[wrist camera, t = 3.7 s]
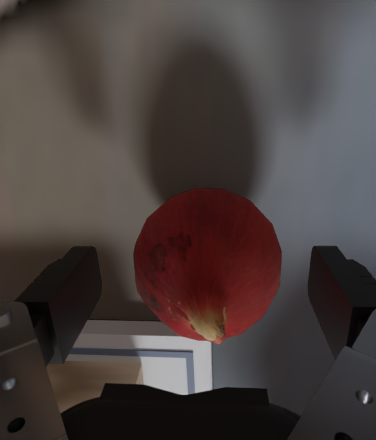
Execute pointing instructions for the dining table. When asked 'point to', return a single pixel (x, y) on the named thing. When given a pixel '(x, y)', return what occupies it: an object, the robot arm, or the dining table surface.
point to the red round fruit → (207, 264)
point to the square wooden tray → (89, 379)
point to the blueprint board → (148, 353)
